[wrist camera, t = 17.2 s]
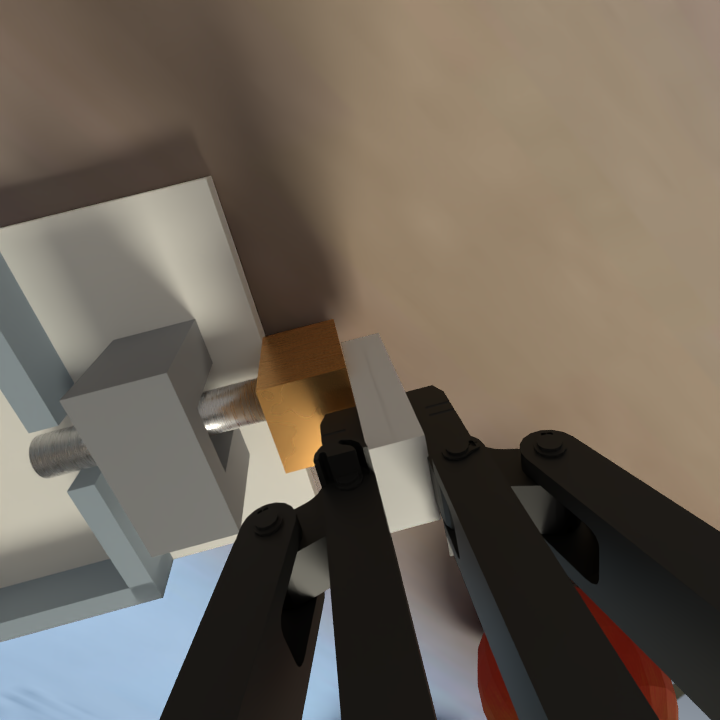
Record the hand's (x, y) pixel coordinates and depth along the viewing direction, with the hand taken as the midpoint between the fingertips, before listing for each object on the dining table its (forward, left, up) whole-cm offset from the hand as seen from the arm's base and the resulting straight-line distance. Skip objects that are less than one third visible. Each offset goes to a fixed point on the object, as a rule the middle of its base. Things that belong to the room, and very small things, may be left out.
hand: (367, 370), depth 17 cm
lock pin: (-6, 0, -2) cm, 7 cm away
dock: (-15, 0, -2) cm, 15 cm away
